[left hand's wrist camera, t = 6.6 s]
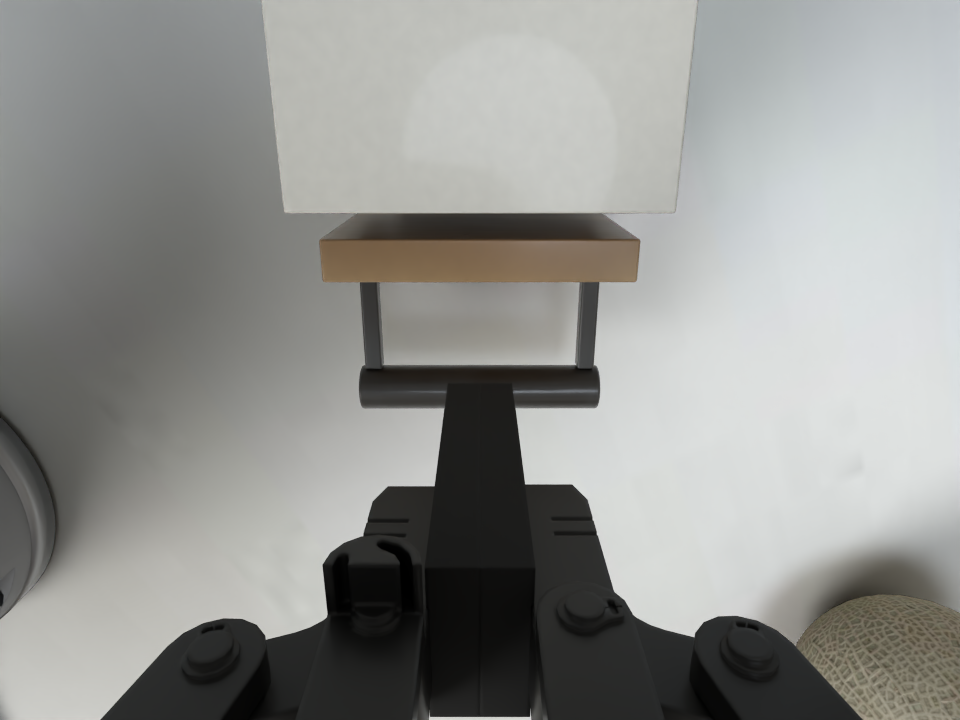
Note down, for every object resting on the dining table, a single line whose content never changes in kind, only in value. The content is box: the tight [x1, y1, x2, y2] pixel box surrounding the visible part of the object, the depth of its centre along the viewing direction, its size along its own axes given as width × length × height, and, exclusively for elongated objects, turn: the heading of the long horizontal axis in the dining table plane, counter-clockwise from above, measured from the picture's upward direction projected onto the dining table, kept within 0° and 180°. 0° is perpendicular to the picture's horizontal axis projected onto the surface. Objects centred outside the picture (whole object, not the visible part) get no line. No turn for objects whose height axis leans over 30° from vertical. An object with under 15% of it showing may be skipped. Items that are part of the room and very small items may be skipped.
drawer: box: [319, 213, 640, 408], centre depth 19 cm, size 22×9×8 cm, turn 0°
